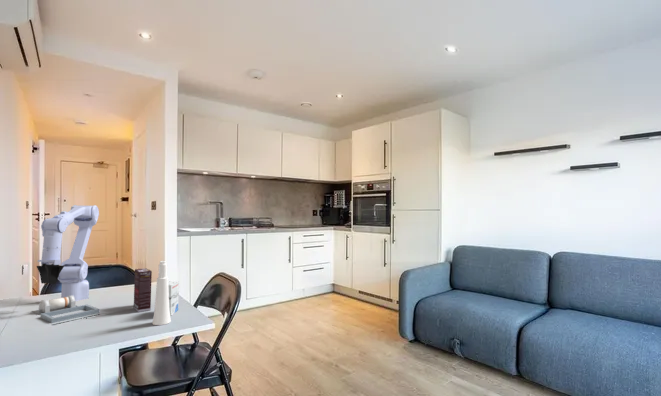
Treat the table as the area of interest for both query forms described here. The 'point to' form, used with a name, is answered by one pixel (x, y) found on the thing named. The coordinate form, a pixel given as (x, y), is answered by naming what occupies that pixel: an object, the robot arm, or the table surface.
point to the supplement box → (142, 290)
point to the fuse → (57, 303)
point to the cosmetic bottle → (162, 297)
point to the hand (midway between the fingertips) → (48, 283)
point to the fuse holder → (47, 309)
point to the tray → (49, 318)
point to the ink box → (173, 296)
